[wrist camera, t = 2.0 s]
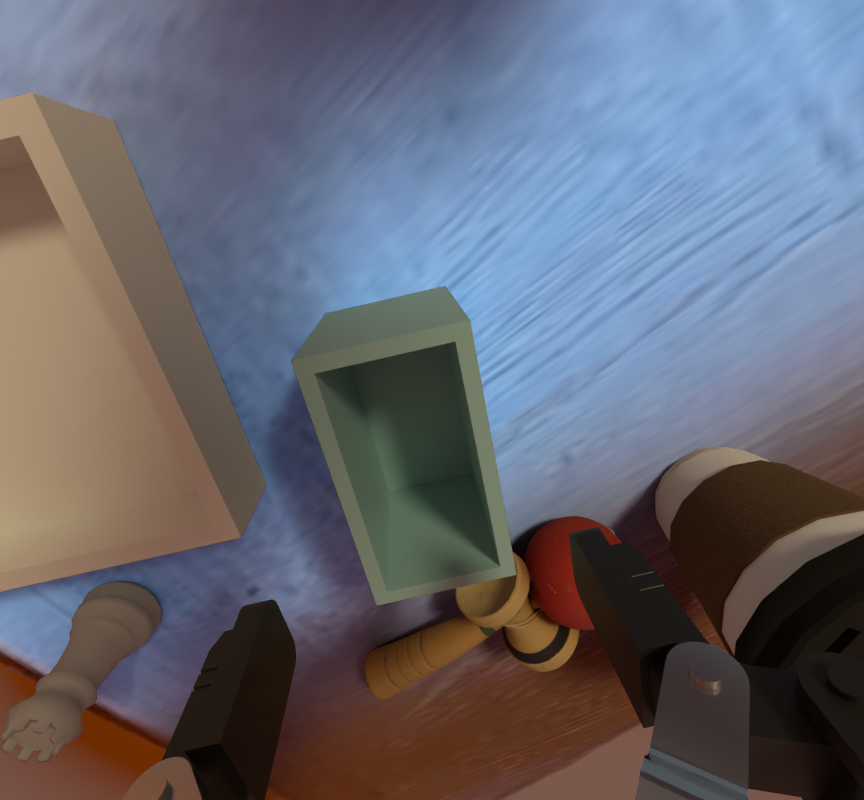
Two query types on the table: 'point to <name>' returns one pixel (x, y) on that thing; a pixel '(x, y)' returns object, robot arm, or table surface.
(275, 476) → the table surface
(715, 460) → the coffee cup
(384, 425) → the teal tote
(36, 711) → the rook chess piece
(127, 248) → the beige tray
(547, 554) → the kendama
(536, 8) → the table surface
